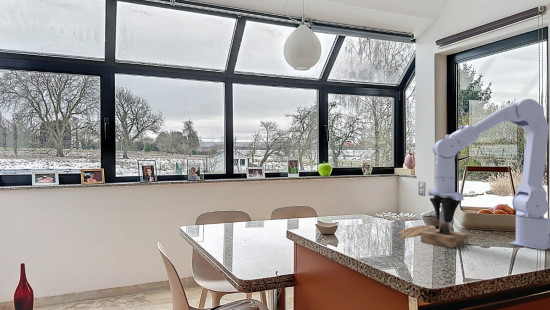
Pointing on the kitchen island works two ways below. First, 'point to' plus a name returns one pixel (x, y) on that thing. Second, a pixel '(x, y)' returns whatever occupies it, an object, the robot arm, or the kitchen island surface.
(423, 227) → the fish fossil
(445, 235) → the walnut hole block
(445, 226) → the steel peg
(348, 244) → the kitchen island surface
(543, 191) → the robot arm
